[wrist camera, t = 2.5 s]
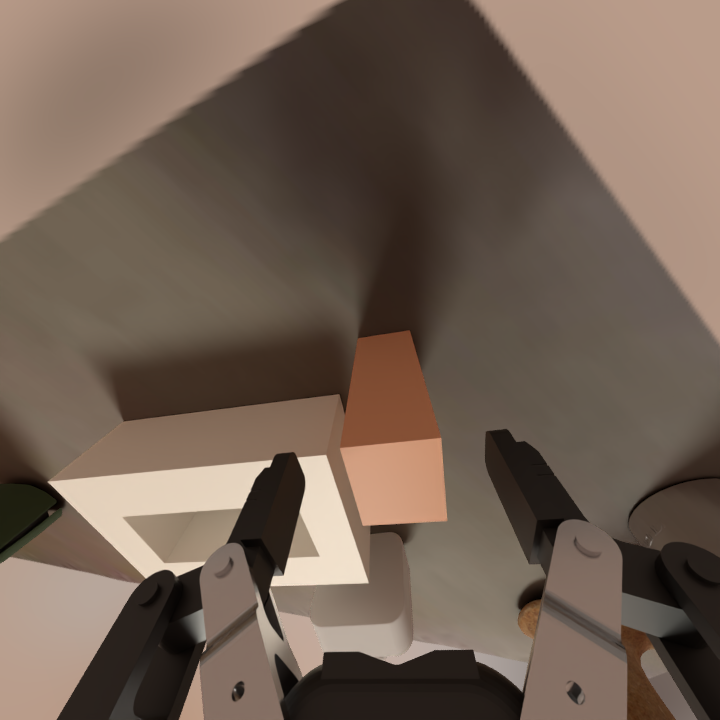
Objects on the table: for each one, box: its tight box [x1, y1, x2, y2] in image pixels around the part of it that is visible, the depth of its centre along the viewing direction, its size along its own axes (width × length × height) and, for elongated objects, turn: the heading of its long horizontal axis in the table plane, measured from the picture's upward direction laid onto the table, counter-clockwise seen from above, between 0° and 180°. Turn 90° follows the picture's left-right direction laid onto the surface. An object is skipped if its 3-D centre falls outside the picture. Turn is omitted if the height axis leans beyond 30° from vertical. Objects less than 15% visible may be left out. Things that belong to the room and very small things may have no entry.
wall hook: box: [310, 532, 413, 661], centre depth 27 cm, size 8×10×10 cm
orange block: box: [340, 330, 447, 526], centre depth 15 cm, size 4×4×10 cm
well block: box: [48, 394, 370, 586], centre depth 22 cm, size 19×14×6 cm
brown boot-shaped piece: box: [518, 599, 676, 720], centre depth 26 cm, size 15×12×15 cm
